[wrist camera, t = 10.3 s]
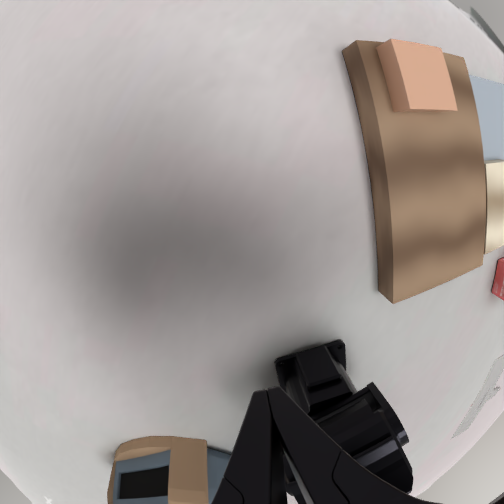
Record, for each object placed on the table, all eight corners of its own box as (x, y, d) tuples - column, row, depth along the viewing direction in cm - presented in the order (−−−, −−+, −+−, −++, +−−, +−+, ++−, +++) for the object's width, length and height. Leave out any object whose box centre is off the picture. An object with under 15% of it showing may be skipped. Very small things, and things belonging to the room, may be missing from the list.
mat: (524, 223, 23) (525, 223, 23) (470, 247, 23) (472, 247, 23) (513, 88, 17) (515, 88, 17) (452, 72, 17) (454, 71, 17)
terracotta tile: (440, 112, 16) (457, 110, 14) (393, 112, 16) (410, 109, 14) (425, 53, 14) (441, 48, 12) (375, 47, 14) (390, 38, 12)
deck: (466, 256, 23) (482, 264, 21) (378, 290, 23) (392, 304, 20) (446, 62, 17) (463, 57, 14) (342, 51, 16) (356, 40, 14)
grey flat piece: (476, 421, 41) (478, 424, 40) (402, 460, 39) (404, 464, 38) (520, 341, 33) (523, 344, 32) (446, 382, 31) (450, 386, 30)
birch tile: (499, 236, 23) (511, 241, 21) (472, 248, 23) (484, 254, 21) (499, 159, 20) (512, 161, 18) (471, 162, 20) (485, 163, 18)
